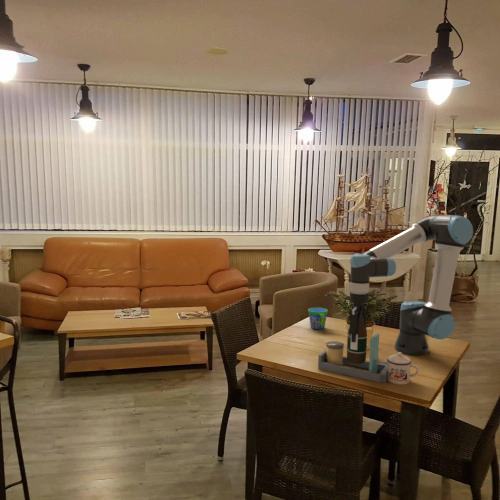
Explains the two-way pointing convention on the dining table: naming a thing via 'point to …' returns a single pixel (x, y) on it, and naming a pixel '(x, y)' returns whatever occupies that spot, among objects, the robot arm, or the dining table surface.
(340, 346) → the jar
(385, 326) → the dining table surface
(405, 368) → the teacup with lid
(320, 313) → the snack cup
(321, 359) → the tray
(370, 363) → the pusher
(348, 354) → the beer bottle
